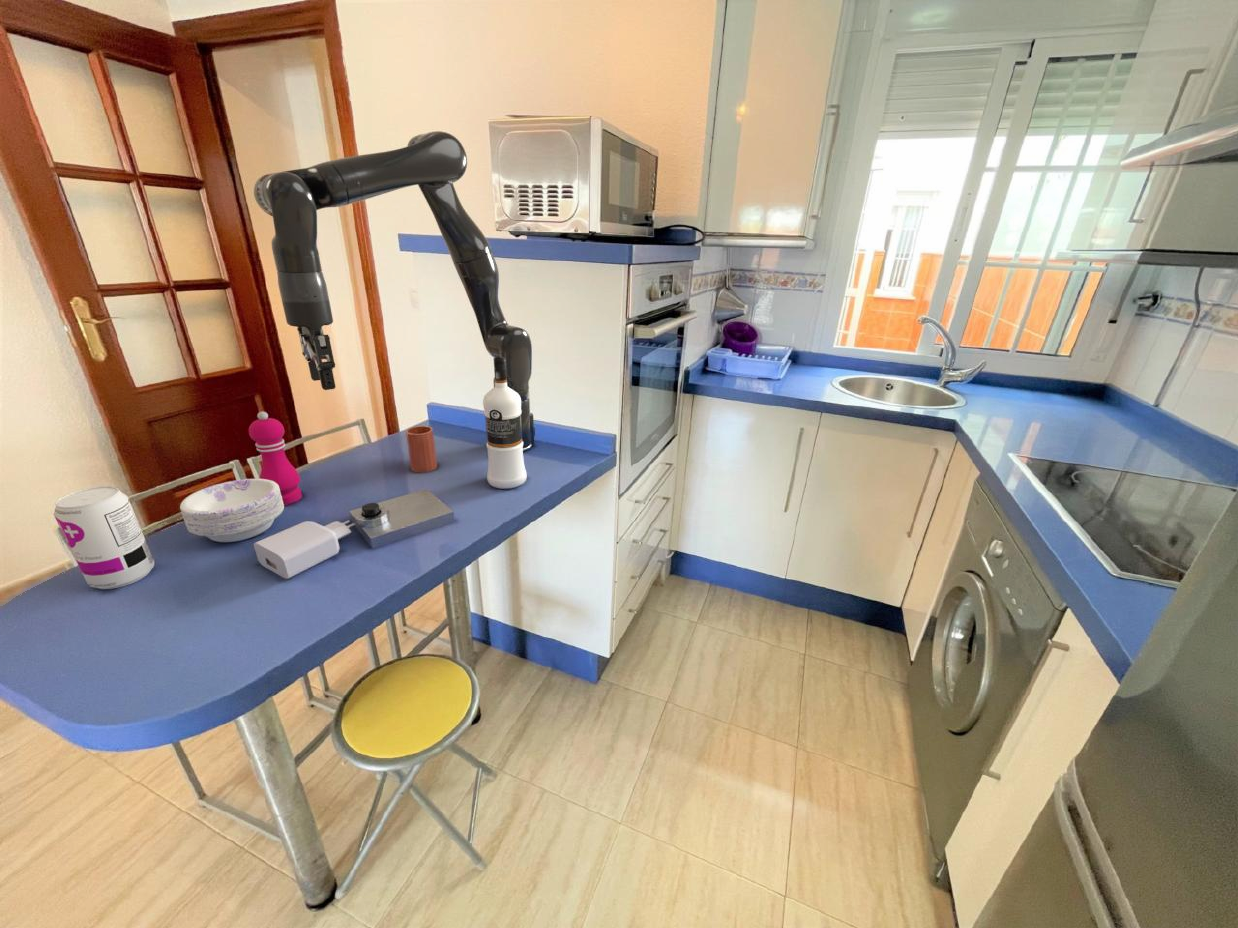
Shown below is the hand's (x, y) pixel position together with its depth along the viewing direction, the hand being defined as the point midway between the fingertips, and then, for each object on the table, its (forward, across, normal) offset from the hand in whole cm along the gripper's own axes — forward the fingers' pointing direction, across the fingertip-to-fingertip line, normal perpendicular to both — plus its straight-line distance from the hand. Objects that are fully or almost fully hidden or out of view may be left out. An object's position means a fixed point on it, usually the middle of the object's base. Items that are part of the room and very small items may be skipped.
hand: (323, 384), depth 98 cm
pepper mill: (+26, +9, +10) cm, 30 cm away
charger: (+26, -17, +10) cm, 33 cm away
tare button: (+23, -15, -1) cm, 27 cm away
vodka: (+26, -12, -32) cm, 43 cm away
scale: (+26, -15, -6) cm, 31 cm away
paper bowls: (+26, 0, +19) cm, 33 cm away
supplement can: (+26, -5, +36) cm, 45 cm away
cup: (+26, +8, -20) cm, 34 cm away
